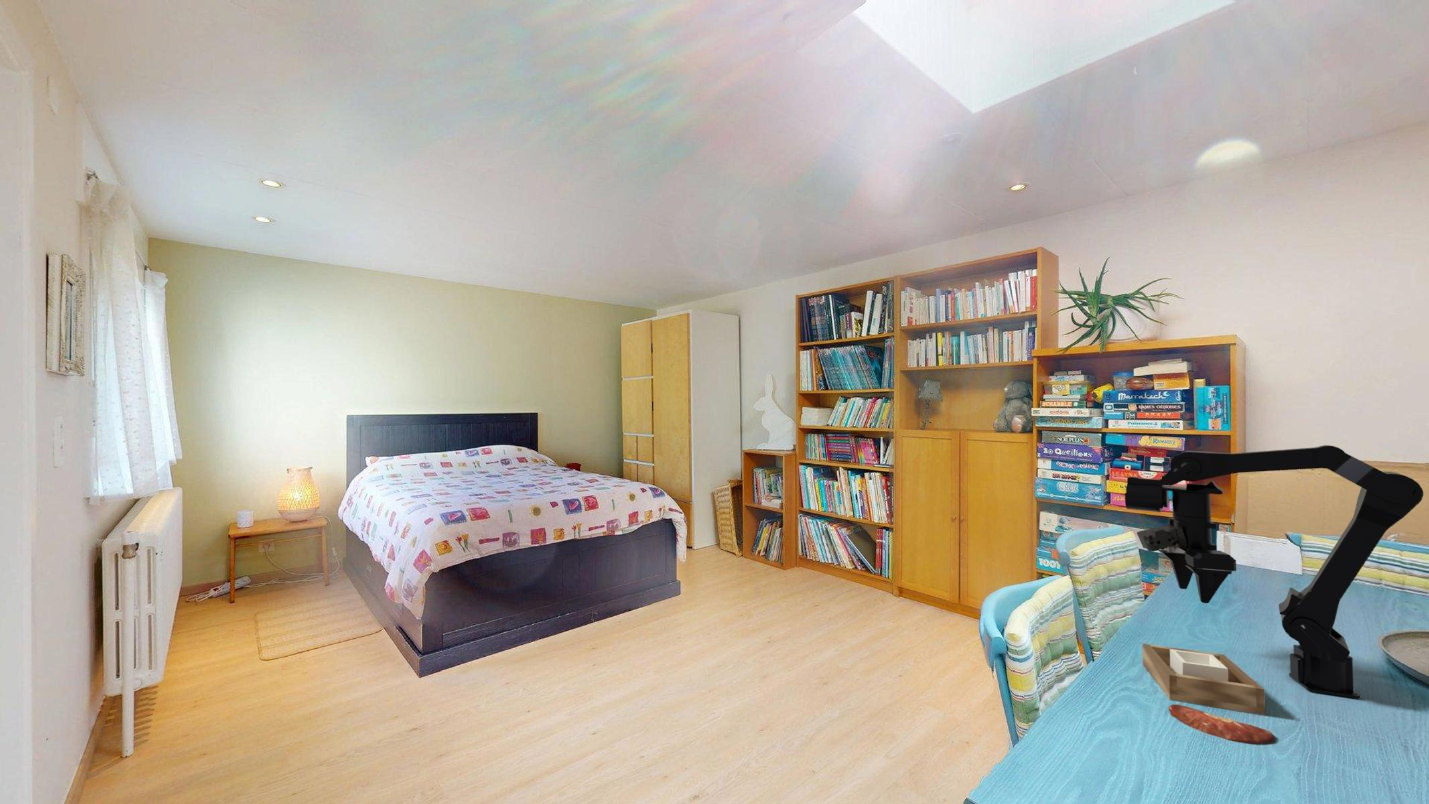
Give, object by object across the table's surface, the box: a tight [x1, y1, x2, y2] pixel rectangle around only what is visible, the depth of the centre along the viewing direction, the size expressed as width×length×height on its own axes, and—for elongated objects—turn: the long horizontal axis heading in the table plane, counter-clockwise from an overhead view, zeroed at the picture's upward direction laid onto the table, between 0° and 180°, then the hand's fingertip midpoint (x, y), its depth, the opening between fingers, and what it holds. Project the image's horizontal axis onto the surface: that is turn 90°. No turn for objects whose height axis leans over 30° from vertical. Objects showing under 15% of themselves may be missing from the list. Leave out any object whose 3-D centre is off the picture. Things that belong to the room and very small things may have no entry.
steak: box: [1168, 704, 1276, 746], centre depth 83 cm, size 8×2×12 cm
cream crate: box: [1170, 649, 1228, 682], centre depth 95 cm, size 6×6×4 cm
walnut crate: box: [1142, 643, 1266, 716], centre depth 95 cm, size 12×14×4 cm
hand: (1193, 595), depth 108 cm, fingers open, 9 cm apart
